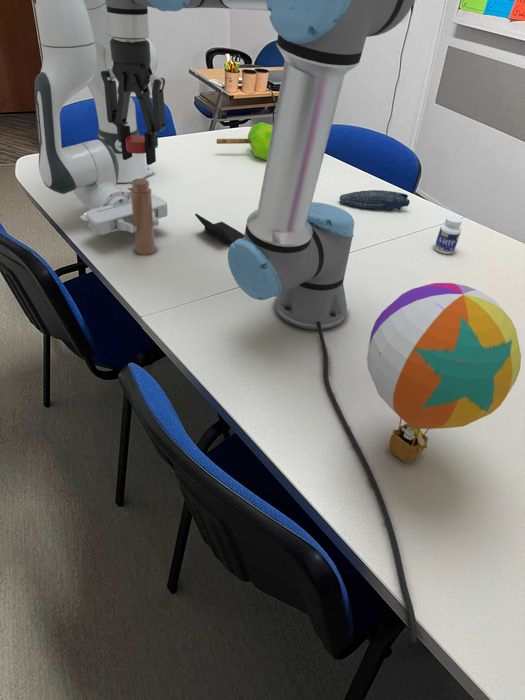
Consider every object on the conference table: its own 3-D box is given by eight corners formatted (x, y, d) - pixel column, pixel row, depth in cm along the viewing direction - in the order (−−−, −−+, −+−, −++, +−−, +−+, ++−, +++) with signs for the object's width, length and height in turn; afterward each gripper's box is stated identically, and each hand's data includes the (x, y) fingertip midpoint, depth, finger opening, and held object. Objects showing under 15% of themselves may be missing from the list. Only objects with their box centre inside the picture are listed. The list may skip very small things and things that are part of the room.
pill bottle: (433, 251, 139) (442, 220, 133) (435, 243, 143) (444, 213, 137) (453, 256, 138) (464, 225, 132) (454, 247, 142) (465, 217, 136)
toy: (317, 443, 83) (351, 282, 64) (393, 393, 94) (441, 242, 75) (417, 530, 72) (494, 366, 53) (490, 462, 83) (575, 305, 64)
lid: (145, 155, 110) (144, 143, 109) (122, 151, 111) (121, 140, 110) (154, 147, 114) (153, 137, 113) (132, 144, 115) (131, 134, 114)
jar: (134, 254, 126) (128, 184, 115) (137, 245, 130) (131, 177, 119) (153, 255, 127) (149, 185, 116) (156, 246, 130) (151, 178, 119)
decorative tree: (213, 119, 187) (294, 118, 192) (214, 148, 193) (292, 147, 198) (219, 133, 173) (306, 132, 178) (220, 165, 179) (303, 163, 185)
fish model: (408, 214, 157) (412, 198, 153) (339, 207, 158) (341, 191, 154) (406, 206, 162) (410, 190, 159) (339, 199, 163) (341, 183, 160)
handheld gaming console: (252, 231, 136) (235, 208, 128) (239, 253, 135) (221, 232, 127) (220, 222, 143) (201, 200, 134) (207, 244, 141) (188, 223, 133)
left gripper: (74, 203, 123) (104, 224, 116) (148, 185, 135) (179, 204, 127) (78, 228, 127) (108, 250, 120) (149, 208, 139) (180, 227, 131)
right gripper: (181, 42, 100) (184, 163, 115) (100, 31, 105) (113, 148, 119) (161, 47, 95) (167, 173, 109) (77, 34, 99) (93, 157, 114)
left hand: (145, 226), depth 124 cm, fingers closed on jar, 5 cm apart
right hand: (139, 160), depth 114 cm, fingers closed on lid, 5 cm apart
